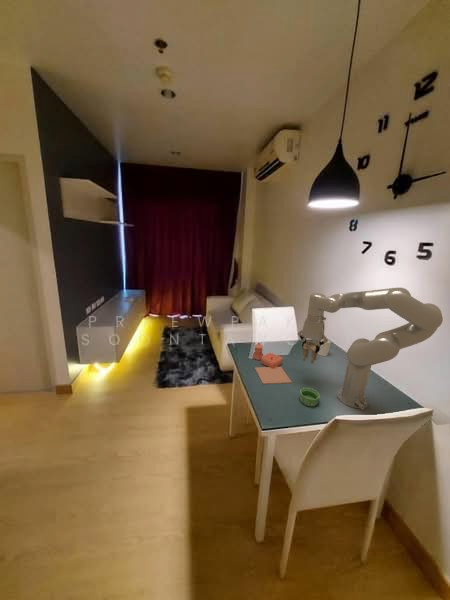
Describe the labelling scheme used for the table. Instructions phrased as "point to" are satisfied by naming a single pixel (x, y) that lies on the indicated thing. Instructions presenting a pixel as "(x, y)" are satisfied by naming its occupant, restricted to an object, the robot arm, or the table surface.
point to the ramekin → (309, 396)
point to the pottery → (266, 357)
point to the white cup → (324, 348)
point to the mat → (272, 375)
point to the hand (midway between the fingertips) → (310, 350)
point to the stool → (307, 347)
